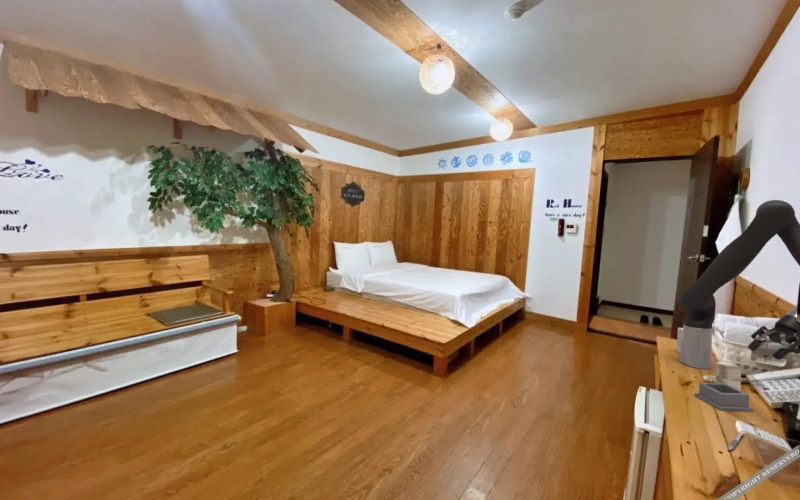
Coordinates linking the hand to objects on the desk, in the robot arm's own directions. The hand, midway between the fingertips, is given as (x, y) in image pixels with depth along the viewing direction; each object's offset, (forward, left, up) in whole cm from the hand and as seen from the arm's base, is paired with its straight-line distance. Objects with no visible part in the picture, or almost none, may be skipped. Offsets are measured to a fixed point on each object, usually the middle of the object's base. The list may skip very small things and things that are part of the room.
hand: (762, 353), depth 115 cm
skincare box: (-34, +21, -14) cm, 42 cm away
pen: (+13, -45, -15) cm, 49 cm away
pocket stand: (-1, -22, -14) cm, 26 cm away
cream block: (-5, -10, -14) cm, 18 cm away
